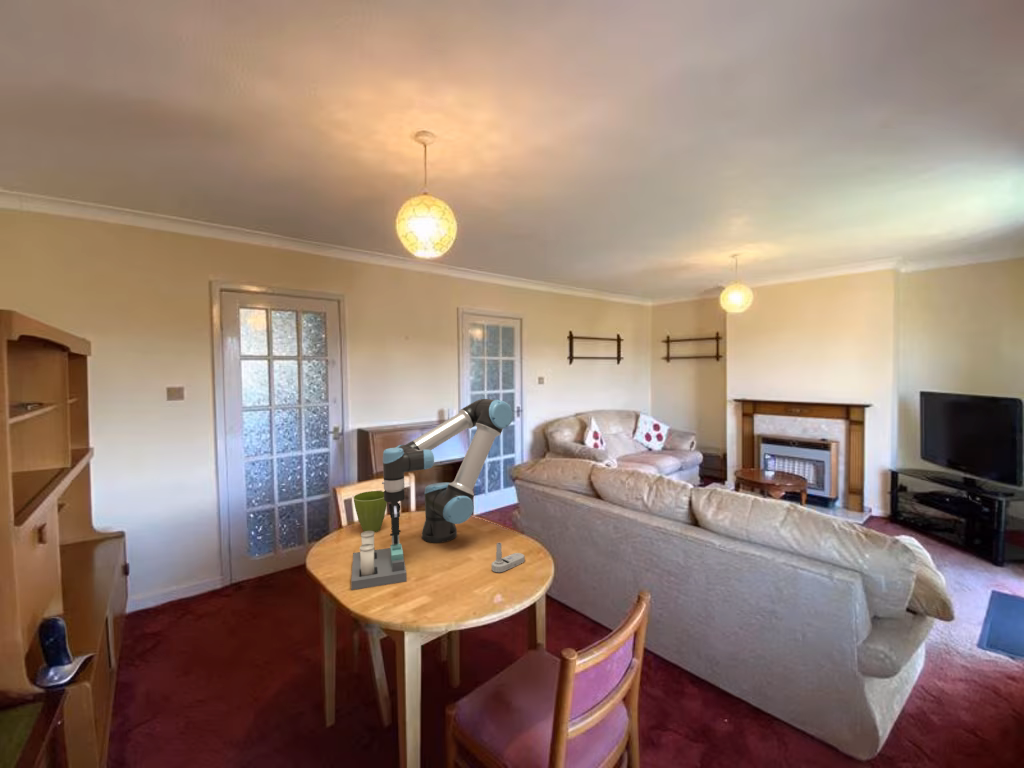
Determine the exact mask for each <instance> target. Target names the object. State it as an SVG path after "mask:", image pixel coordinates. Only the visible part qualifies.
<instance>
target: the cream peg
mask: <svg viewBox="0 0 1024 768" xmlns="http://www.w3.org/2000/svg"><path fill="white" fill-rule="evenodd" d="M374 550H375V544H374V545H373V544H364V545H362V544H361V545H360V546H359V552H360V560H361V577H362V576H368V575H375V573H374Z"/></svg>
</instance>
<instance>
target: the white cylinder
mask: <svg viewBox="0 0 1024 768" xmlns="http://www.w3.org/2000/svg"><path fill="white" fill-rule="evenodd" d="M360 537H361V545H364V544H373V545H374V546H375V532H374V531H365V532H364V531H362V532H361V533H360ZM375 550H376V549H374V559H375Z"/></svg>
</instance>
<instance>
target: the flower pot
mask: <svg viewBox="0 0 1024 768" xmlns="http://www.w3.org/2000/svg"><path fill="white" fill-rule="evenodd" d="M353 502H354V508H355V512H356V515H357V518H358V522H359V524H360V527H361V529H362V532H365V531H374V533H377V532H379V531H380V530H381V529H382V525H383V522H384V519H385V516H386V511H387V505H388V502H386V501H385V500H384V490H383V491H382V490H371V491H365V492H360V493H356V494H355V495H353Z"/></svg>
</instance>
